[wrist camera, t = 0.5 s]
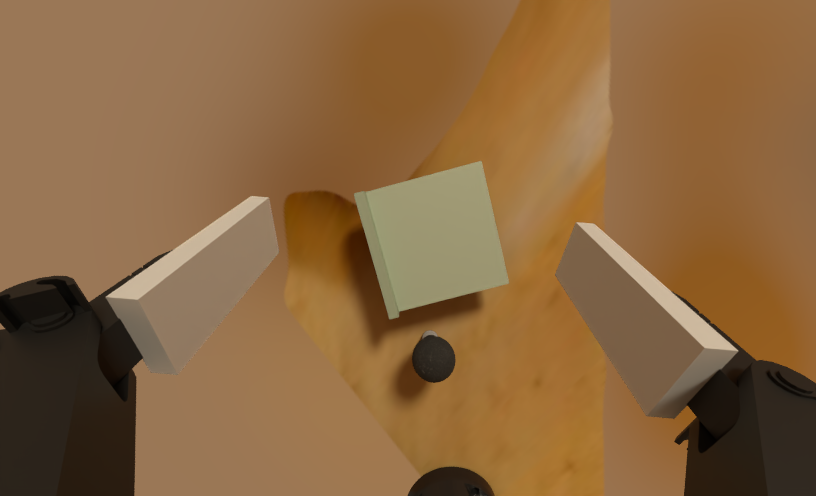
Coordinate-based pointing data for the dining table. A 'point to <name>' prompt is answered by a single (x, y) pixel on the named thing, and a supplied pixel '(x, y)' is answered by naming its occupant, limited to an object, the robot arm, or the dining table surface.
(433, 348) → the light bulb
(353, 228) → the dining table surface
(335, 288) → the dining table surface
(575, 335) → the dining table surface
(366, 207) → the pale green square board
